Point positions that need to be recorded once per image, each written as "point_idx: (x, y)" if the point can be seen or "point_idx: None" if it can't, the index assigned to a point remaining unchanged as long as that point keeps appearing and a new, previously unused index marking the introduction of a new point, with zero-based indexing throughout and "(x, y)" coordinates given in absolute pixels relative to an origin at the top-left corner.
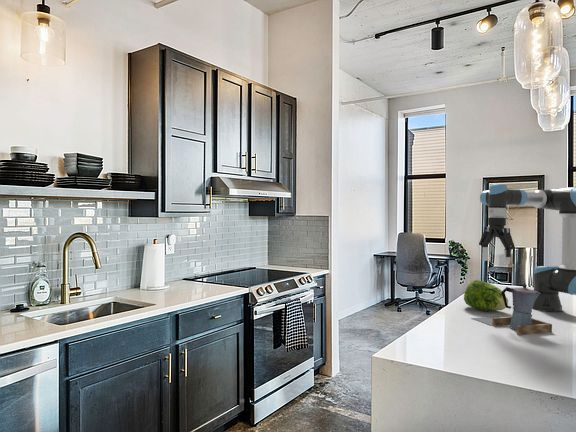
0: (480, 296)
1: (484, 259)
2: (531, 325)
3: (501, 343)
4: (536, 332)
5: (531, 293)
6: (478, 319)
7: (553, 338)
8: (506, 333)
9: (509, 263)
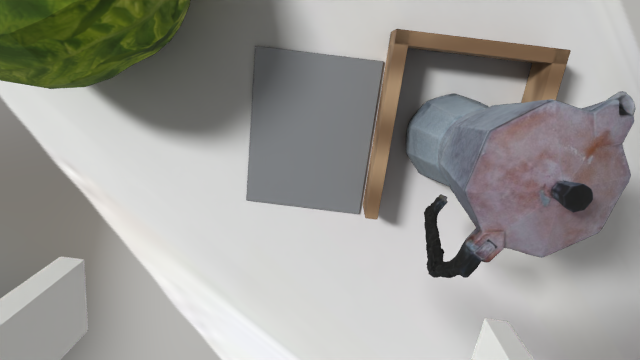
0: (115, 64)
1: (76, 328)
2: None
3: None
4: None
5: (613, 199)
6: (274, 188)
7: None
8: None
9: (513, 333)
